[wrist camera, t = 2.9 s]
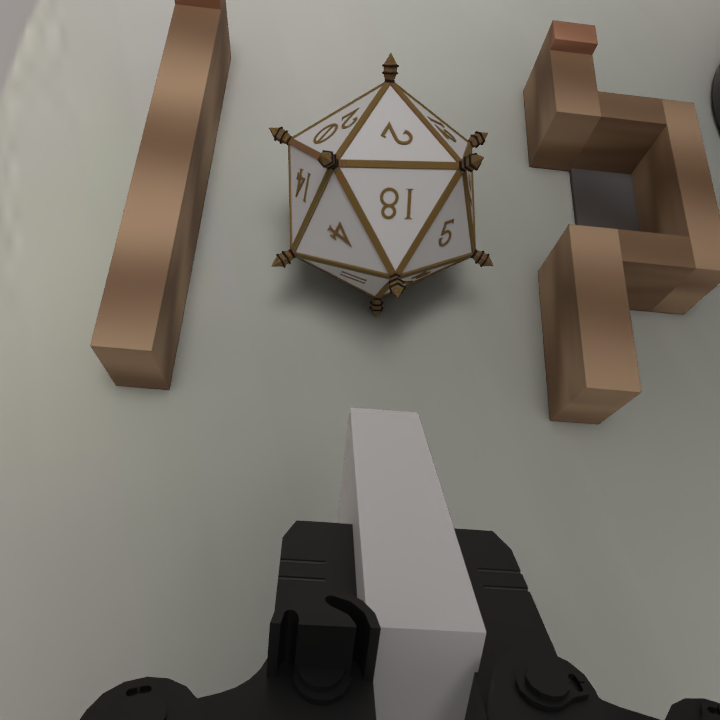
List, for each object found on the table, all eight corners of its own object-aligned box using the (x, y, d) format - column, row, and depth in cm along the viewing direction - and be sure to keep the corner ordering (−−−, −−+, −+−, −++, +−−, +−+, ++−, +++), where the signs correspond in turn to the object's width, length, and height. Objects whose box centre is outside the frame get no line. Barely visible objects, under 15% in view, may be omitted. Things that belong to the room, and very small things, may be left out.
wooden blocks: (705, 432, 26) (773, 396, 22) (116, 385, 24) (85, 337, 21) (644, 105, 34) (688, 37, 30) (190, 51, 32) (177, -27, 28)
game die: (339, 328, 31) (205, 302, 22) (335, 153, 31) (202, 56, 22) (530, 313, 27) (465, 275, 18) (522, 115, 27) (454, -21, 18)
